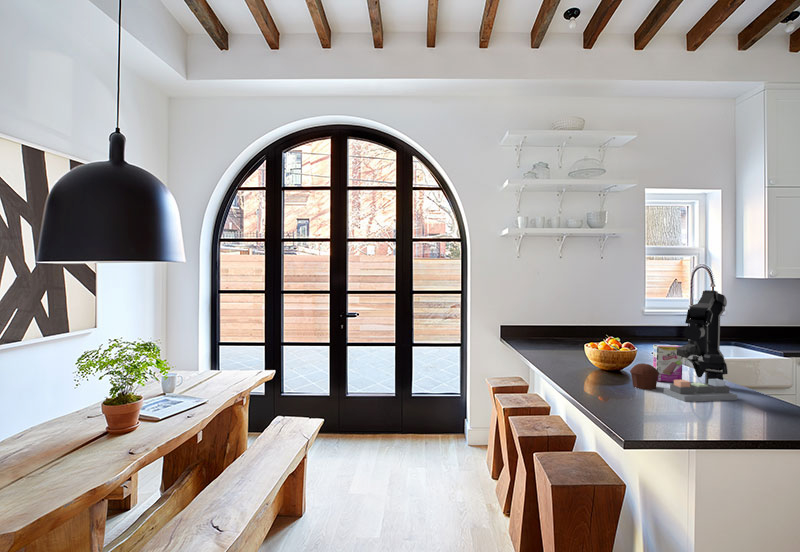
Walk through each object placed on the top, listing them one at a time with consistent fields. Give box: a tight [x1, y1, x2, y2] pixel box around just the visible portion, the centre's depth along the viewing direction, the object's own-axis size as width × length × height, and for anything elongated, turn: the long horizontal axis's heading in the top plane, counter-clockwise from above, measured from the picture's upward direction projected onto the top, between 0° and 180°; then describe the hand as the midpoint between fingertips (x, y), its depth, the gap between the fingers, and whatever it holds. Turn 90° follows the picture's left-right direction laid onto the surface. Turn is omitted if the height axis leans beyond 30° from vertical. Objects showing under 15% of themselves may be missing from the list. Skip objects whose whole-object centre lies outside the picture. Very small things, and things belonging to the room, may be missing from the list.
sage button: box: [690, 382, 708, 387], centre depth 185 cm, size 4×4×3 cm
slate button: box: [708, 379, 726, 386], centre depth 186 cm, size 4×4×3 cm
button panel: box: [663, 382, 738, 402], centre depth 185 cm, size 12×22×4 cm, turn 96°
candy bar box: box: [652, 344, 683, 383], centre depth 213 cm, size 11×5×16 cm, turn 84°
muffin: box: [629, 362, 659, 391], centre depth 201 cm, size 12×11×10 cm
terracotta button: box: [673, 379, 691, 387], centre depth 184 cm, size 4×4×3 cm
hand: (699, 377), depth 185 cm, fingers closed
